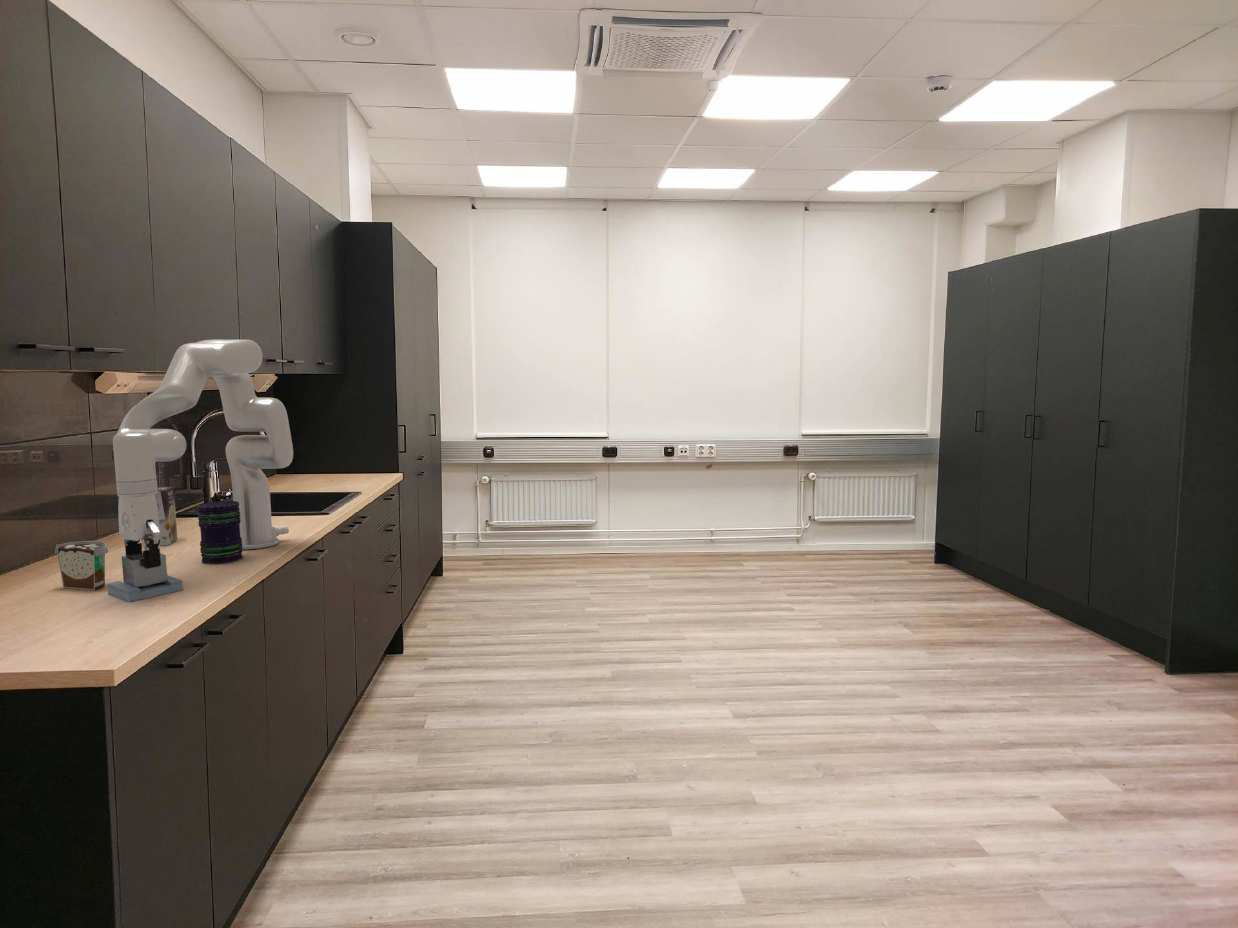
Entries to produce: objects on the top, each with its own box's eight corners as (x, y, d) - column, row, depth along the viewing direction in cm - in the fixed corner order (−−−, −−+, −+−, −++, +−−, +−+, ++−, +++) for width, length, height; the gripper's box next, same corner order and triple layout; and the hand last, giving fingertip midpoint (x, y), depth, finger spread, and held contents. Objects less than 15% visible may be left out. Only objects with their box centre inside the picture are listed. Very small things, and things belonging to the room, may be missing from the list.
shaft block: (161, 582, 177) (158, 551, 176) (182, 589, 170) (180, 557, 170) (108, 593, 168) (105, 560, 167) (128, 601, 162) (125, 567, 161)
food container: (124, 583, 176) (120, 541, 175) (99, 590, 170) (96, 547, 169) (83, 580, 180) (79, 539, 178) (58, 587, 174) (54, 544, 173)
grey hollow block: (156, 576, 174) (154, 550, 173) (167, 580, 169) (165, 554, 169) (123, 582, 169) (121, 556, 168) (134, 587, 164) (132, 560, 164)
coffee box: (170, 545, 217) (165, 490, 215) (144, 547, 215) (140, 491, 213) (178, 539, 226) (174, 486, 224) (153, 540, 224) (149, 487, 222)
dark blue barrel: (211, 566, 192) (207, 508, 190) (194, 560, 198) (190, 504, 196) (250, 558, 200) (246, 503, 198) (232, 553, 206) (228, 499, 204)
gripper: (102, 486, 169) (108, 562, 171) (135, 493, 158) (141, 573, 160) (139, 482, 175) (145, 555, 177) (173, 489, 164) (179, 566, 166)
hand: (143, 564), depth 169 cm, fingers open, 8 cm apart
